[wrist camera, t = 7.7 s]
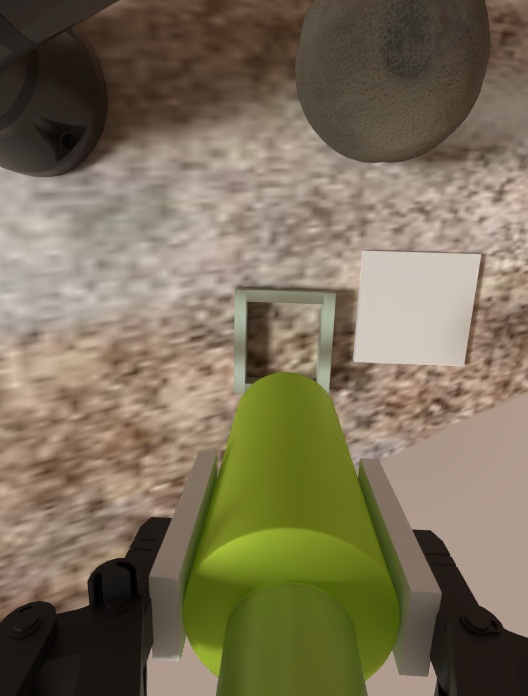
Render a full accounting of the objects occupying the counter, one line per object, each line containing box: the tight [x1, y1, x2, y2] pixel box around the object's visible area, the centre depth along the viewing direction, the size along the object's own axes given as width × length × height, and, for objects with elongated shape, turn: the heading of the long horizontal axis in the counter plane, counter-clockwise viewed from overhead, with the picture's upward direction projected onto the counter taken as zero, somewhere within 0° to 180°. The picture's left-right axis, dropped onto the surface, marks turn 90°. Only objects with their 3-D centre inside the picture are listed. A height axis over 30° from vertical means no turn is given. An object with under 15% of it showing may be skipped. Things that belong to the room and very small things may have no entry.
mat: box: [353, 251, 481, 366], centre depth 43 cm, size 12×12×1 cm
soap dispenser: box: [183, 372, 400, 696], centre depth 14 cm, size 6×7×20 cm
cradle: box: [234, 287, 336, 395], centre depth 43 cm, size 11×10×2 cm
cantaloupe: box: [295, 0, 490, 163], centre depth 31 cm, size 14×14×15 cm
